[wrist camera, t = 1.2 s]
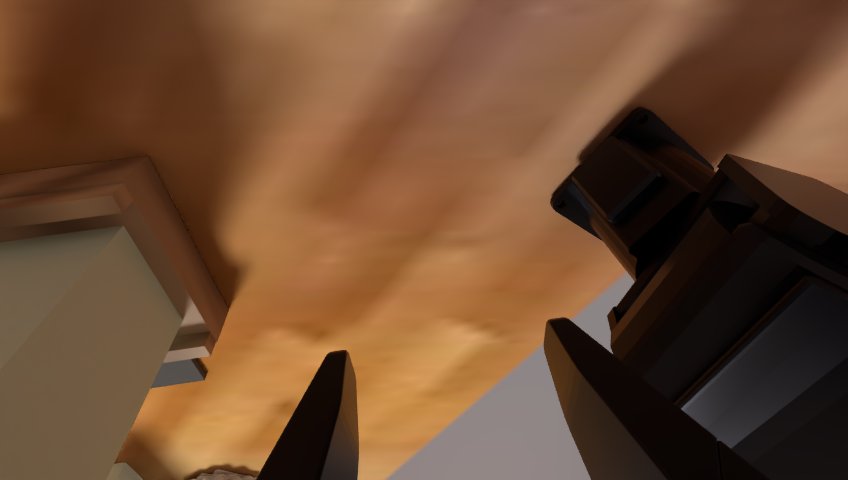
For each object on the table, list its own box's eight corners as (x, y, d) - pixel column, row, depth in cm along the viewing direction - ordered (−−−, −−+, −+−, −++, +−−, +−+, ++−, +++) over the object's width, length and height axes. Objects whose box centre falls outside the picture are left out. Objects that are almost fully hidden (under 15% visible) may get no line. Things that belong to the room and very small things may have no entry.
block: (123, 225, 18) (-72, 454, 10) (182, 320, 22) (74, 546, 14) (-43, 247, 18) (-379, 501, 10) (45, 340, 21) (-149, 582, 13)
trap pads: (-17, 32, 16) (-25, 34, 15) (206, 375, 28) (204, 380, 28) (-357, 71, 15) (-373, 75, 15) (23, 402, 28) (19, 408, 27)
